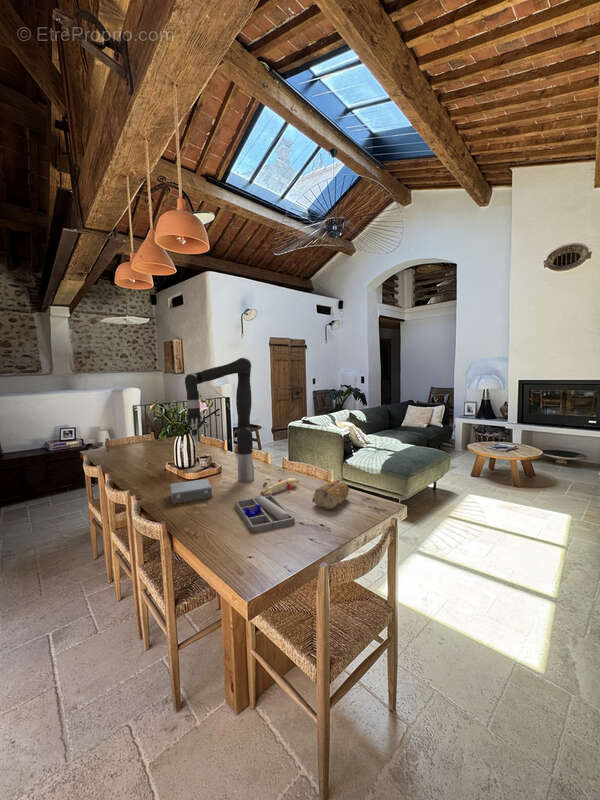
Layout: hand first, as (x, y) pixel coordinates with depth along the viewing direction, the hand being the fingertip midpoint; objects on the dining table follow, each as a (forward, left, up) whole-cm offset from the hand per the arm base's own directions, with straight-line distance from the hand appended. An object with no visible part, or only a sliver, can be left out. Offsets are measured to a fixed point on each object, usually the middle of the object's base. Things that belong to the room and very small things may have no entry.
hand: (194, 435), depth 208 cm
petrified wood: (-59, +64, -29) cm, 92 cm away
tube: (-27, +63, -30) cm, 75 cm away
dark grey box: (+6, +23, -29) cm, 37 cm away
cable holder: (-18, +62, -29) cm, 71 cm away
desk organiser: (-22, +62, -29) cm, 72 cm away
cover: (+6, +24, -24) cm, 34 cm away
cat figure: (-42, +36, -29) cm, 62 cm away
